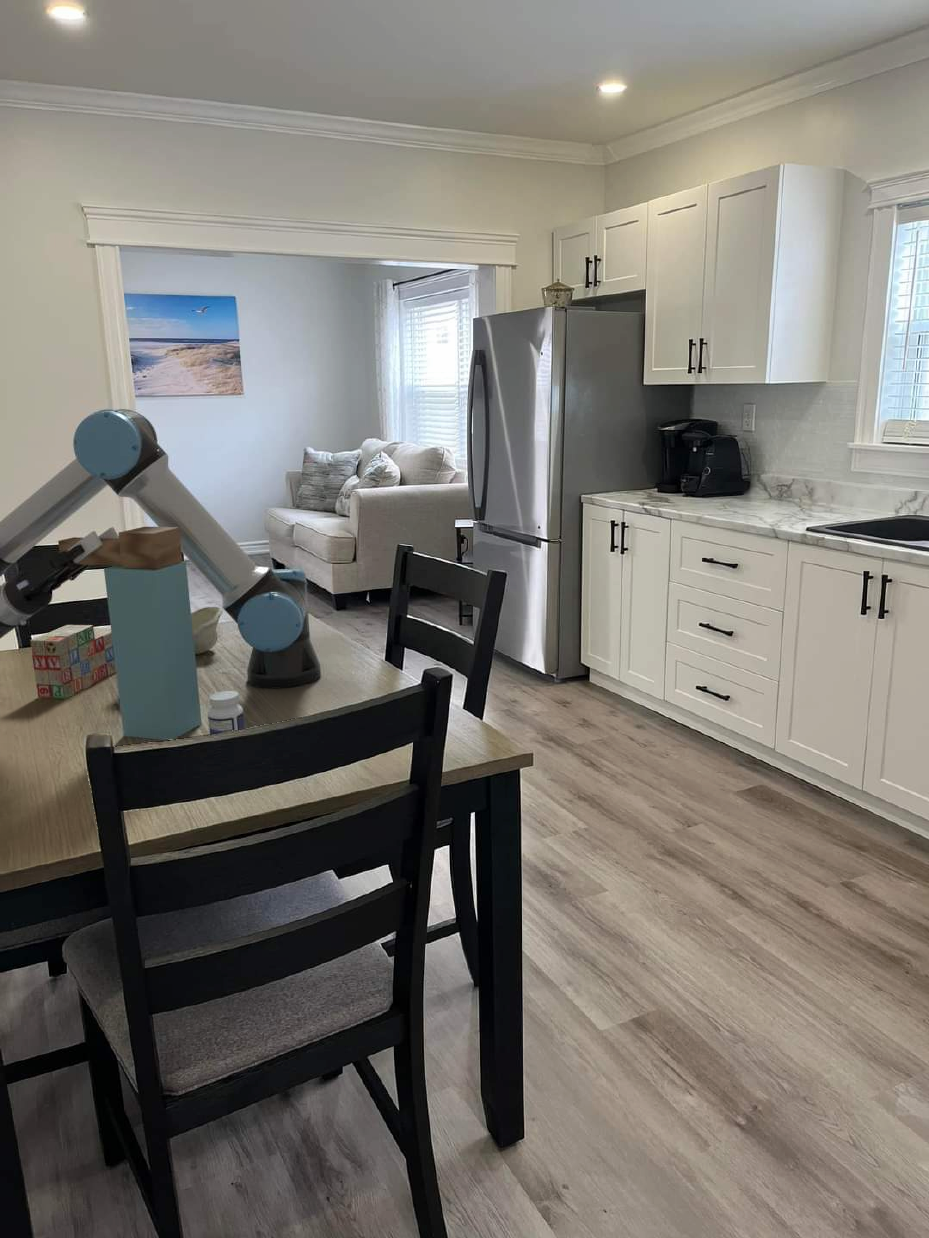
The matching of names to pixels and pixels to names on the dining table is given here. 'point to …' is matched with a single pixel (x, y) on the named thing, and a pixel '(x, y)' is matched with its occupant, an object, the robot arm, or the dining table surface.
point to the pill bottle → (225, 712)
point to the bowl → (205, 628)
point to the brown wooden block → (135, 548)
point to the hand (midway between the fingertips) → (106, 536)
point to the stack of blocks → (72, 659)
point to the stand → (153, 650)
